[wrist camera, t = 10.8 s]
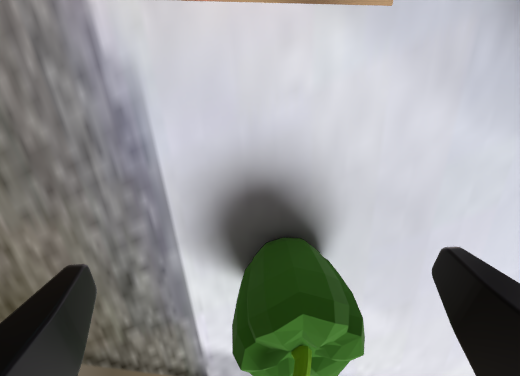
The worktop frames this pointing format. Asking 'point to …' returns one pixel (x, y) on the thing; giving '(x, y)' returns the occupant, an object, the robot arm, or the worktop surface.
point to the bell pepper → (295, 314)
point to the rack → (316, 1)
